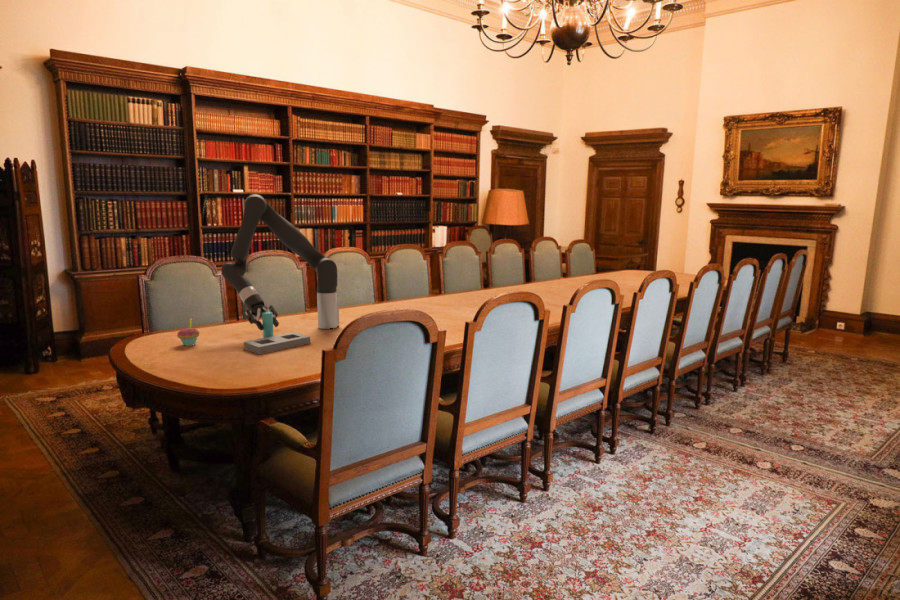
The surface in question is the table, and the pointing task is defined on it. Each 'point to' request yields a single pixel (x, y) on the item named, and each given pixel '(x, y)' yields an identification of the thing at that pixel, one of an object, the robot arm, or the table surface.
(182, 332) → the cupcake
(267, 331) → the teal round-top peg
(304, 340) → the rack
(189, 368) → the table surface
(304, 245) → the robot arm
